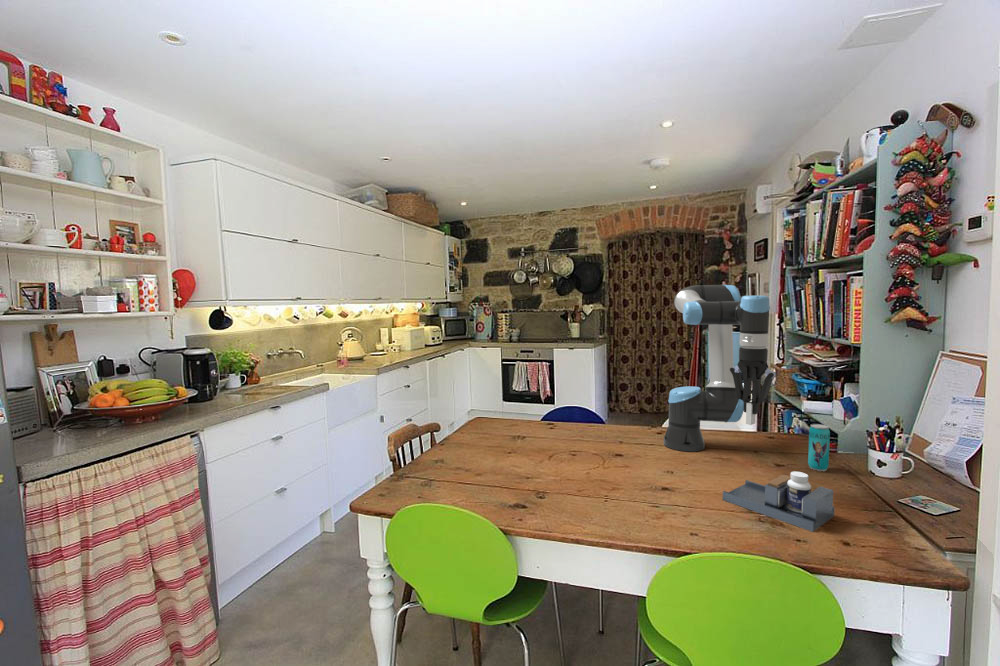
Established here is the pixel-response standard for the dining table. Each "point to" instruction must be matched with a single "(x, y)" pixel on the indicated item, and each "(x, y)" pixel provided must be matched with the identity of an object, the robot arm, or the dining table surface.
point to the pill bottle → (797, 490)
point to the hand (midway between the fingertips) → (750, 423)
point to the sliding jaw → (777, 492)
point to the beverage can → (819, 447)
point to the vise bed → (813, 505)
